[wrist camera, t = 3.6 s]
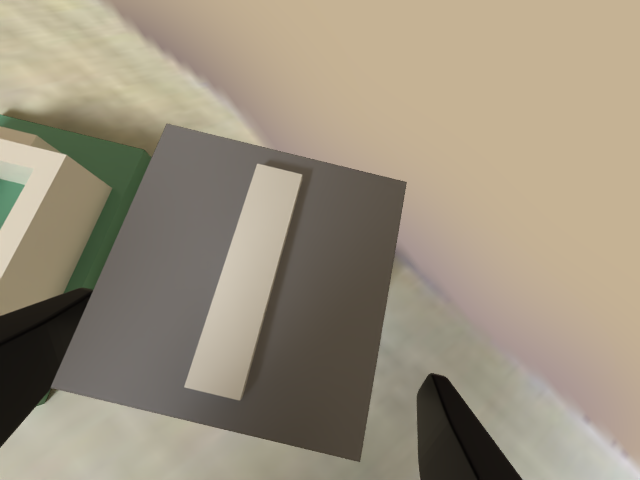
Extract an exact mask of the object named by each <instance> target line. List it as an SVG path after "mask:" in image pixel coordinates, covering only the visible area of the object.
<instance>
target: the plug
mask: <svg viewBox="0 0 640 480" xmlns="http://www.w3.org/2000/svg"><path fill="white" fill-rule="evenodd" d="M405 189H406V182H404V181H400V180H395V179H392V178H387V177H383V176H379V175H375V174H371V173H366V172H363V171H359V170H355V169H351V168H347V167H343V166H338V165H334V164H330V163H326V162H322V161H318V160H314V159H310V158H306V157H302V156H297V155H293V154H289V153H285V152H281V151H277V150H273V149H269V148H265V147H261V146H257V145H252V144H248V143H244V142H240V141H236V140H232V139H228V138H224V137H220V136H216V135H212V134H207V133H203V132H199V131H195V130H191V129H187V128H183V127H179V126H175V125H171V124H166V126H165V129H164V131H163V133H162V135H161V138H160V140H159V142H158V145H157V147H156V149H155V151H154V154H153V156H152V158H151V160H150V163H149V165H148V167H147V170H146V172H145V174H144V176H143V179H142V181H141V183H140V185H139V188H138V190H137V192H136V195H135V197H134V199H133V201H132V204H131V206H130V208H129V210H128V213H127V215H126V217H125V220H124V222H123V224H122V226H121V229H120V231H119V233H118V235H117V238H116V240H115V242H114V245H113V247H112V249H111V251H110V254H109V256H108V258H107V260H106V263H105V265H104V267H103V269H102V272H101V274H100V276H99V279H98V281H97V283H96V285H95V288H94V290H93V292H92V294H91V297H90V299H89V301H88V304H87V306H86V308H85V310H84V313H83V315H82V317H81V319H80V322H79V324H78V326H77V329H76V331H75V333H74V335H73V338H72V340H71V342H70V344H69V347H68V349H67V351H66V354H65V356H64V358H63V360H62V363H61V365H60V367H59V369H58V372H57V374H56V376H55V378H54V381H53V383H52V385H51V388H53V389H58V390H62V391H66V392H70V393H74V394H78V395H83V396H87V397H91V398H95V399H99V400H104V401H108V402H112V403H116V404H120V405H124V406H129V407H133V408H137V409H141V410H145V411H149V412H154V413H158V414H162V415H166V416H170V417H174V418H179V419H183V420H187V421H191V422H195V423H199V424H204V425H208V426H212V427H216V428H220V429H224V430H229V431H233V432H237V433H241V434H245V435H249V436H254V437H258V438H262V439H266V440H270V441H275V442H279V443H283V444H287V445H291V446H295V447H300V448H304V449H308V450H312V451H316V452H320V453H325V454H329V455H333V456H337V457H341V458H345V459H350V460H354V461H358V462H360V459H361V453H362V447H363V441H364V435H365V429H366V423H367V417H368V411H369V405H370V399H371V393H372V387H373V381H374V375H375V369H376V363H377V357H378V351H379V345H380V339H381V333H382V327H383V321H384V315H385V309H386V303H387V297H388V291H389V285H390V279H391V273H392V267H393V261H394V255H395V249H396V243H397V237H398V231H399V225H400V219H401V213H402V207H403V200H404V195H405Z"/></svg>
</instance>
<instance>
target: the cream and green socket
mask: <svg viewBox="0 0 640 480" xmlns="http://www.w3.org/2000/svg"><path fill="white" fill-rule="evenodd" d="M150 160H151V157H150V156H149V155H148V153H147V152H146V151H145V150H143V149H139V148H135V147H131V146H127V145H123V144H119V143H115V142H111V141H106V140H102V139H98V138H94V137H90V136H86V135H82V134H78V133H74V132H70V131H65V130H61V129H57V128H53V127H49V126H45V125H41V124H37V123H33V122H29V121H24V120H20V119H16V118H12V117H8V116H4V115H0V316H1V315H4V314H7V313H10V312H13V311H15V310H18V309H21V308H24V307H27V306H29V305H32V304H35V303H38V302H41V301H44V300H46V299H49V298H52V297H55V296H58V295H60V294H63V293H66V292H69V291H72V290H75V289H77V288H89V289H93V290H94V288H95V285H96V283H97V281H98V279H99V276H100V274H101V272H102V269H103V267H104V265H105V263H106V260H107V258H108V256H109V254H110V251H111V249H112V247H113V245H114V242H115V240H116V238H117V235H118V233H119V231H120V229H121V226H122V224H123V222H124V220H125V217H126V215H127V213H128V210H129V208H130V206H131V204H132V201H133V199H134V197H135V195H136V192H137V190H138V188H139V185H140V183H141V181H142V179H143V176H144V174H145V172H146V170H147V167H148V165H149V163H150ZM50 390H51V389H50ZM49 392H50V391H49ZM49 392H48V393H47V394H46V395H45V396H44V398H43V399H42V400H41V401H40V402H39V403H38V405H42V404H45V401H46V399H47V397H48V394H49ZM38 405H37V406H38Z"/></svg>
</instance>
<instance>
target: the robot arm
mask: <svg viewBox="0 0 640 480" xmlns="http://www.w3.org/2000/svg"><path fill="white" fill-rule="evenodd" d="M92 292H93V289H89V288H77V289H75V290H72V291H69V292H66V293H63V294H60V295H58V296H55V297H52V298H49V299H46V300H44V301H41V302H38V303H35V304H32V305H29V306H27V307H24V308H21V309H18V310H15V311H13V312H10V313H7V314H4V315H1V316H0V447H1V446H2V445H3V444H4V443H5V442H6V440H7V439H8V438H9V437H10V436H11V435H12V434H13V432H14V431H15V430H16V429H17V428H18V427H19V425H20V424H21V423H22V422H23V421H24V420H25V418H26V417H27V416H28V415H29V414H30V413H31V411H32V410H33V409H34V408H35V407H36V406H37V405H38V403H39V402H40V401H41V400H42V399H43V398H44V396H45V395H46V394H47V393H48V392H49V391H50V389H51V385H52V383H53V381H54V378H55V376H56V374H57V372H58V369H59V367H60V365H61V363H62V360H63V358H64V356H65V354H66V351H67V349H68V347H69V344H70V342H71V340H72V338H73V335H74V333H75V331H76V329H77V326H78V324H79V322H80V319H81V317H82V315H83V313H84V310H85V308H86V306H87V304H88V301H89V299H90V297H91V294H92ZM417 431H418V461H419V471H420V480H522V478H521V477H520V476H519V474H518V473H517V472H516V470H515V469H514V467H513V466H512V465H511V463H510V462H509V461H508V459H507V458H506V457H505V455H504V454H503V453H502V451H501V450H500V449H499V447H498V446H497V444H496V443H495V442H494V440H493V439H492V438H491V436H490V435H489V434H488V432H487V431H486V430H485V428H484V427H483V426H482V424H481V423H480V422H479V420H478V419H477V417H476V416H475V415H474V413H473V412H472V411H471V409H470V408H469V407H468V405H467V404H466V403H465V401H464V400H463V399H462V397H461V396H460V394H459V393H458V392H457V390H456V389H455V388H454V386H453V385H452V384H451V382H450V381H449V380H448V379H447V378H446V377H445V376H442V375H438V374H434V373H430V374H429V375H428V376H427V378H426V379H425V381H424V382H423V384H422V386H421V387H420V389H419V391H418V394H417Z"/></svg>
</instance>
